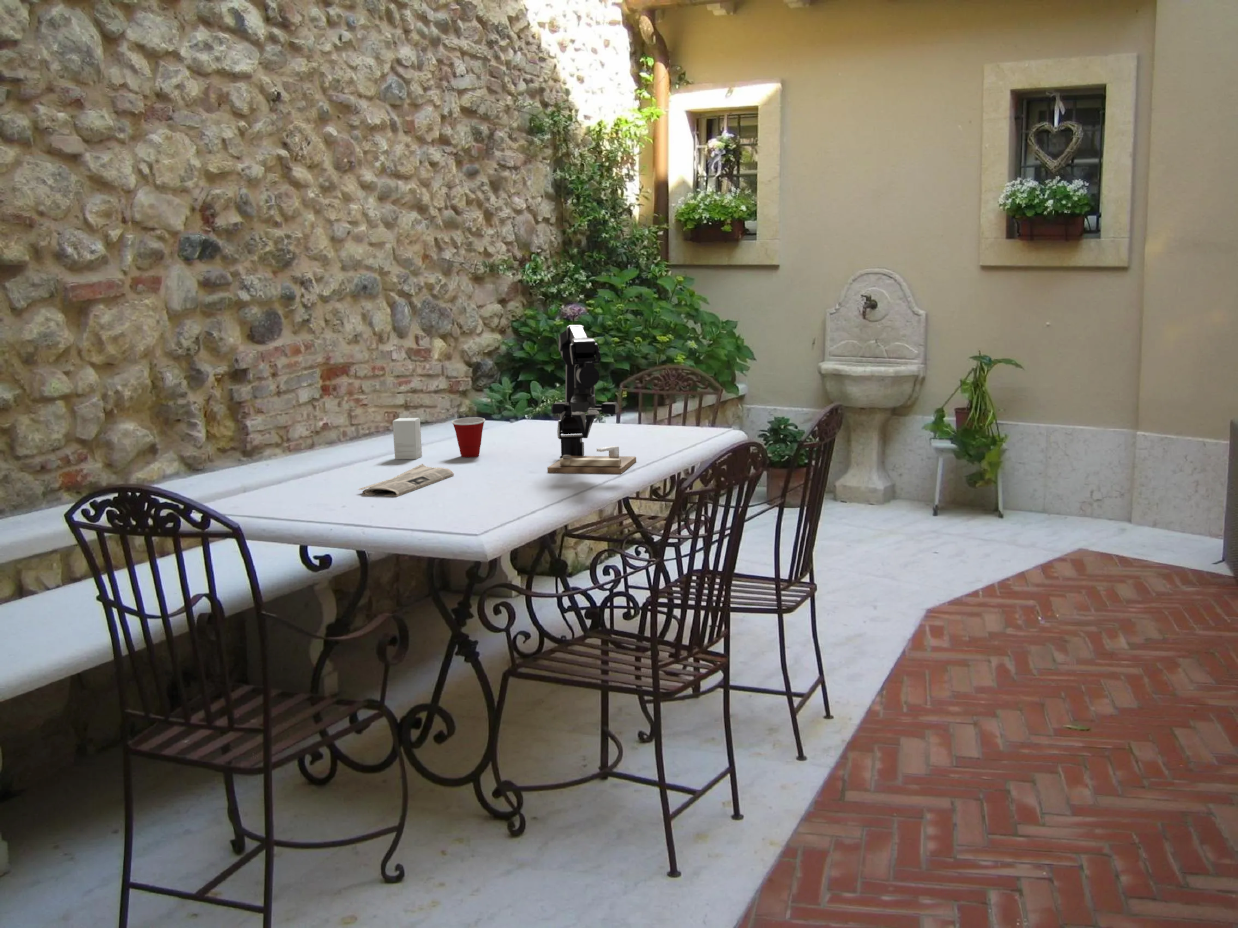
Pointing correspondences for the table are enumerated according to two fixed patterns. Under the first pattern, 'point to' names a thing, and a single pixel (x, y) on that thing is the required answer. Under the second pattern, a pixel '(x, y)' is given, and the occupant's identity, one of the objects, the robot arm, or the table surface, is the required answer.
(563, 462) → the link
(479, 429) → the plastic cup
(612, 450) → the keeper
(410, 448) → the supplement box
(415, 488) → the newspaper
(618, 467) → the board
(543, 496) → the table surface
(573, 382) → the robot arm
